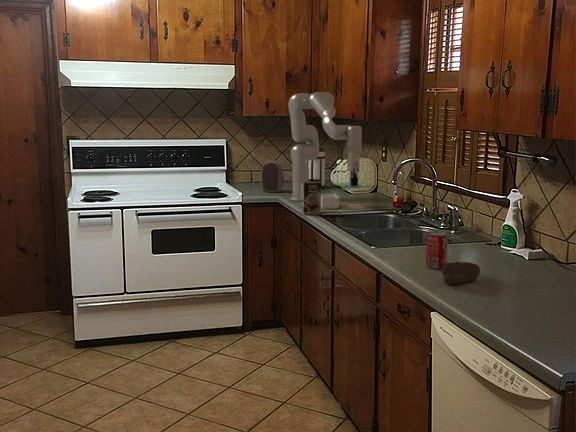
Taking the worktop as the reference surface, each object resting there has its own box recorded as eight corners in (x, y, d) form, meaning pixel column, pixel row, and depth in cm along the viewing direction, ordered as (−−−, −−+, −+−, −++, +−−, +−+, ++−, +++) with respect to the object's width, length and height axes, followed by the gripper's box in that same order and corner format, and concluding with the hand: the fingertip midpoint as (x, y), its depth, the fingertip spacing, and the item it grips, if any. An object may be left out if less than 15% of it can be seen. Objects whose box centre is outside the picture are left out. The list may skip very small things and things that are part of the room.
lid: (339, 184, 333) (339, 173, 332) (357, 184, 334) (357, 173, 332) (345, 188, 318) (345, 176, 316) (363, 187, 318) (363, 176, 317)
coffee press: (298, 187, 401) (298, 141, 395) (319, 185, 408) (319, 140, 402) (311, 190, 386) (311, 143, 380) (332, 189, 393) (333, 142, 387)
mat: (336, 204, 337) (336, 203, 337) (357, 203, 338) (357, 203, 338) (342, 209, 319) (342, 209, 319) (364, 209, 321) (364, 208, 320)
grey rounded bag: (258, 192, 379) (258, 160, 375) (263, 190, 387) (263, 158, 383) (281, 193, 374) (281, 160, 370) (286, 191, 382) (286, 159, 378)
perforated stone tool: (474, 278, 198) (475, 257, 197) (485, 282, 194) (486, 261, 192) (435, 283, 193) (437, 261, 191) (446, 287, 188) (447, 266, 187)
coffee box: (303, 215, 304) (304, 183, 301) (300, 212, 310) (300, 181, 307) (321, 214, 307) (321, 182, 304) (317, 212, 313) (317, 180, 310)
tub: (318, 205, 334) (319, 194, 332) (335, 204, 334) (335, 194, 333) (322, 208, 322) (322, 197, 321) (339, 208, 323) (339, 197, 322)
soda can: (442, 264, 214) (444, 231, 212) (448, 270, 207) (450, 235, 205) (422, 264, 214) (424, 231, 212) (428, 270, 207) (429, 235, 205)
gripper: (344, 148, 324) (343, 183, 327) (350, 151, 308) (349, 187, 311) (358, 148, 324) (357, 183, 328) (364, 151, 308) (364, 187, 312)
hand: (353, 184), depth 319 cm, fingers closed on lid, 3 cm apart
